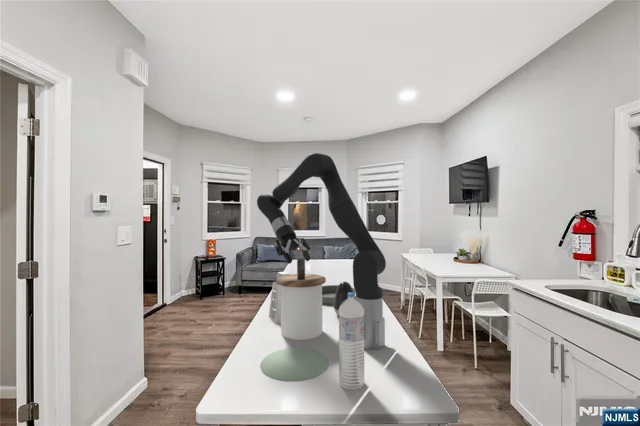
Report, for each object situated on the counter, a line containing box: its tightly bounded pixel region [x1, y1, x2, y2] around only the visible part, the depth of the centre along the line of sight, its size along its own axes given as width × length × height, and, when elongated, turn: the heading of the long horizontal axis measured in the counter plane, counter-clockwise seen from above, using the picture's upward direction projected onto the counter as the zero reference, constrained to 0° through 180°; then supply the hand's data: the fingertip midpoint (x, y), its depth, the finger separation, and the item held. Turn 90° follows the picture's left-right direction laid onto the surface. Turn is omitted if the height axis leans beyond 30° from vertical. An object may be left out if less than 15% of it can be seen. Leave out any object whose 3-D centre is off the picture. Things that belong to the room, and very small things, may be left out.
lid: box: [275, 258, 327, 287], centre depth 121 cm, size 19×19×8 cm
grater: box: [268, 271, 291, 325], centre depth 138 cm, size 10×10×20 cm
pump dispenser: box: [333, 281, 356, 317], centre depth 140 cm, size 10×10×15 cm
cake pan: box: [322, 284, 356, 305], centre depth 168 cm, size 25×25×4 cm
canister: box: [280, 284, 323, 341], centre depth 121 cm, size 16×16×20 cm
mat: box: [259, 347, 330, 383], centre depth 96 cm, size 21×21×1 cm
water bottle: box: [338, 292, 365, 392], centre depth 84 cm, size 7×7×25 cm
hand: (299, 261), depth 121 cm, fingers open, 8 cm apart
